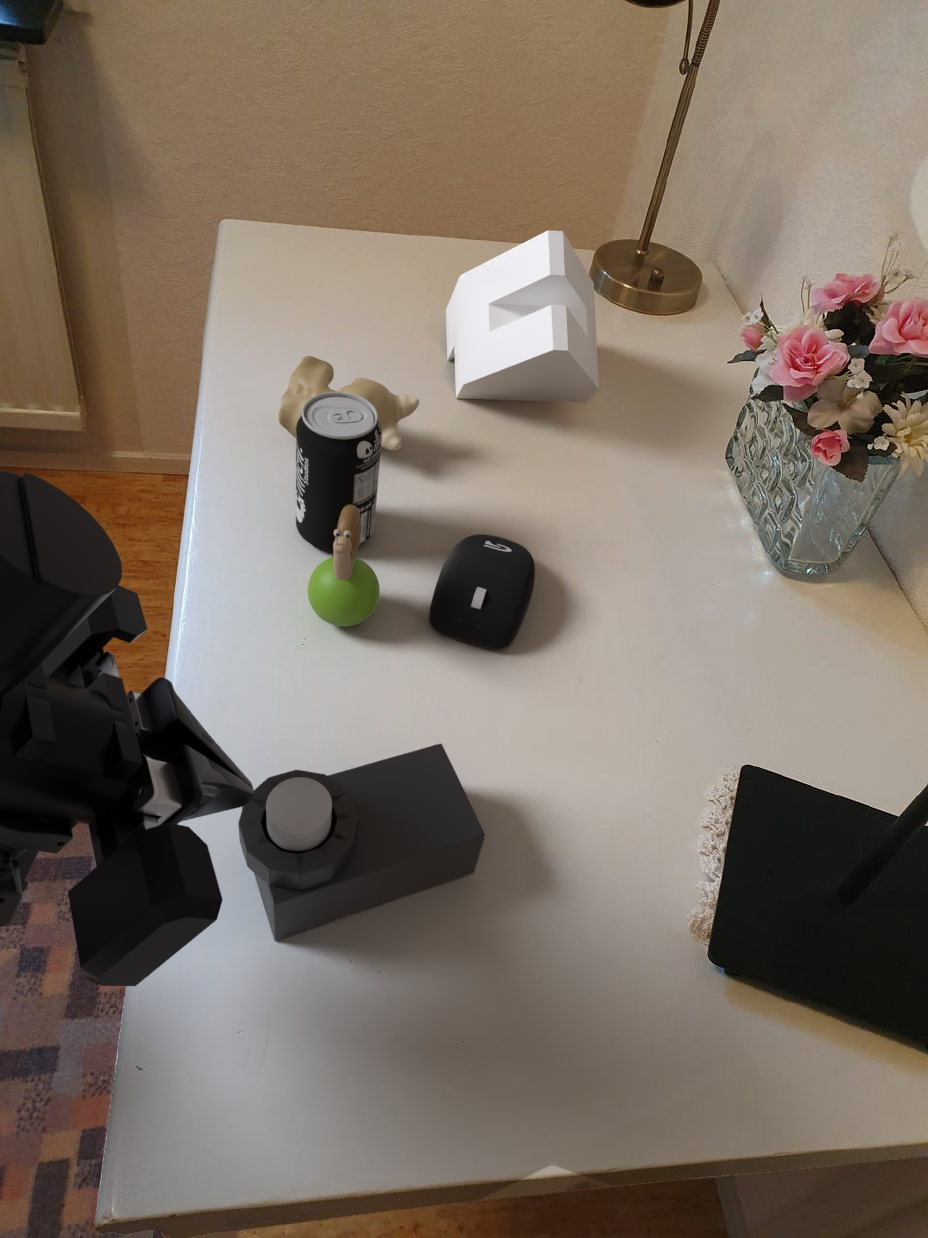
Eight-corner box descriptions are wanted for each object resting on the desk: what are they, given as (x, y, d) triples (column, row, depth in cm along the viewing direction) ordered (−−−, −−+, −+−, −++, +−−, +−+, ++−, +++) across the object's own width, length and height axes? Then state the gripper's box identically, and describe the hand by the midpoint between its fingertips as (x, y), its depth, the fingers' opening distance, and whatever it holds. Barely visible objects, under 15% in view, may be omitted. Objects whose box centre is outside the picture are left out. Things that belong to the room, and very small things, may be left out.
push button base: (262, 946, 54) (258, 892, 49) (232, 845, 58) (226, 785, 53) (474, 873, 59) (491, 817, 54) (433, 784, 63) (445, 724, 58)
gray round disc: (276, 860, 51) (276, 842, 49) (259, 806, 53) (258, 787, 52) (339, 840, 52) (340, 822, 51) (319, 788, 54) (320, 769, 53)
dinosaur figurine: (308, 344, 87) (416, 358, 81) (335, 400, 92) (438, 417, 87) (262, 405, 83) (372, 424, 78) (294, 460, 89) (398, 481, 84)
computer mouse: (543, 561, 80) (552, 526, 77) (511, 660, 72) (520, 626, 69) (460, 537, 80) (466, 502, 78) (419, 633, 72) (424, 598, 69)
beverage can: (287, 510, 80) (286, 392, 71) (360, 500, 82) (368, 384, 73) (307, 563, 76) (308, 444, 67) (383, 550, 78) (394, 434, 69)
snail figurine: (300, 646, 70) (301, 528, 61) (312, 586, 74) (315, 467, 65) (372, 654, 70) (383, 538, 61) (380, 594, 75) (391, 477, 66)
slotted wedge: (448, 410, 99) (484, 346, 81) (445, 310, 100) (480, 225, 82) (573, 414, 101) (634, 353, 84) (569, 316, 102) (628, 235, 85)
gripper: (-159, 674, 44) (118, 745, 56) (-155, 1064, 33) (187, 1047, 45) (-19, 520, 41) (241, 630, 53) (36, 893, 30) (347, 924, 42)
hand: (247, 795), depth 48 cm, fingers closed
